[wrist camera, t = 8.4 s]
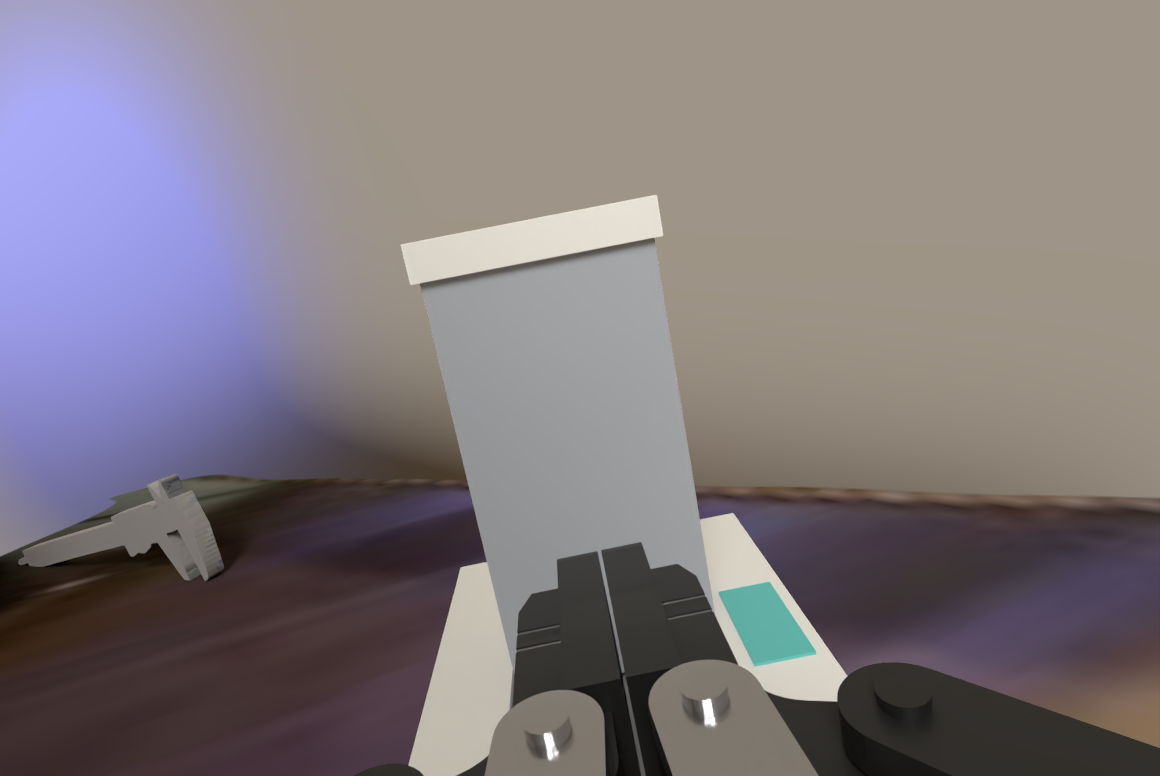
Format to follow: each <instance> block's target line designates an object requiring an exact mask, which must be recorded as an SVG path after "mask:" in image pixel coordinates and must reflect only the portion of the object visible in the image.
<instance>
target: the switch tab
mask: <svg viewBox="0 0 1160 776" xmlns="http://www.w3.org/2000/svg"><path fill="white" fill-rule="evenodd" d="M659 236H663V231H662V225H661V218H660V212H659V205H658V199H657V195H653V196H648V197H643V198H637V199H632V200H627V201H622V202H617V203H612V204H606V205H602V206H596V207H591V208H586V209H581V210H576V211H570V212H565V213H560V214H555V215H550V216H545V217H540V218H535V219H529V220H524V221H519V222H514V223H509V224H504V225H499V226H493V227H489V228H483V229H478V230H473V231H468V232H463V233H458V234H452V235H447V236H442V237H437V238H432V239H427V240H422V241H416V242H411V243H406V244H401V249H402V253H403V257H404V261H405V265H406V269H407V273H408V278H409V282H410V285H414V284H419V283H420V286H421V290H422V294H423V298H424V303H425V307H426V311H427V315H428V319H429V323H430V328H431V332H432V336H433V340H434V344H435V348H436V352H437V357H438V361H439V365H440V369H441V373H442V377H443V381H444V385H445V390H446V394H447V398H448V402H449V406H450V410H451V414H452V419H453V423H454V427H455V431H456V435H457V439H458V444H459V447H460V452H461V456H462V460H463V464H464V468H465V472H466V477H467V481H468V485H469V489H470V493H471V498H472V502H473V506H474V510H475V514H476V518H477V522H478V527H479V531H480V535H481V539H482V543H483V547H484V551H485V556H486V560H487V564H488V568H489V572H490V576H491V580H492V585H493V589H494V593H495V597H496V601H497V605H498V610H499V614H500V618H501V622H502V626H503V630H504V634H505V639H506V643H507V647H508V651H509V655H510V659H511V663H512V668H513V672H514V674H515V659H516V653H517V650H516V643H517V636H518V633H517V628H518V613H519V611H520V610H521V608H522V607H523V606H524V604H525V603H526V601H527V600H528V598H529V597H530V595H531V594H533V593H538V592H543V591H547V590H552V589H557V588H558V576H557V559H561V558H566V557H570V556H575V555H580V554H585V553H590V552H595V551H597V552H598V556H599V561H600V566H601V571H602V576H603V581H604V586H605V591H606V596H607V601H608V605H609V610H610V615H611V620H612V625H613V630H614V635H615V640H616V645H617V650H618V655H619V660H620V665H621V671H622V673H624V672H625V671H624V665H623V660H622V655H621V650H620V645H619V640H618V635H617V630H616V624H615V619H614V614H613V609H612V604H611V599H610V594H609V589H608V584H607V578H606V573H605V568H604V563H603V558H602V553H601V550H604V549H609V548H614V547H619V546H623V545H628V544H633V543H638V542H641V543H642V545H643V548H644V551H645V554H646V557H647V560H648V563H649V566H650V569H654V568H659V567H663V566H668V565H673V564H679V565H680V566H682V567H683V568H685V569H687V570H688V571H690V572H691V573H693V574H694V575H696V576H697V578H698V580H699V582H700V585H701V587H702V589H703V591H704V593H705V597H707V599H708V601H709V604H710V606H711V608H712V612H714V614H715V611H714V605H713V599H712V592H711V586H710V580H709V574H708V568H707V562H706V555H705V549H704V543H703V537H702V531H701V524H700V518H699V512H698V506H697V500H696V493H695V487H694V481H693V475H692V469H691V462H690V456H689V450H688V444H687V438H686V431H685V425H684V419H683V413H682V407H681V401H680V394H679V389H678V383H677V376H676V371H675V363H674V357H673V351H672V345H671V339H670V332H669V326H668V320H667V314H666V308H665V301H664V296H663V289H662V283H661V277H660V270H659V264H658V259H657V252H656V246H655V240H654V237H659Z"/></svg>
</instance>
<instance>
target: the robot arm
mask: <svg viewBox="0 0 1160 776" xmlns="http://www.w3.org/2000/svg"><path fill="white" fill-rule="evenodd" d="M601 553H602V558H603V563H604V568H605V573H606V578H607V584H608V589H609V594H610V599H611V604H612V609H613V614H614V619H615V624H616V630H617V635H618V640H619V645H620V650H621V655H622V660H623V665H624V671H625V676H626V681H627V686H628V691H629V695H630V700H631V705H632V710H633V715H634V720H635V725H636V730H637V735H638V740H639V745H640V750H641V755H642V760H643V765H644V770H645V775H646V776H1160V748H1158V747H1155V746H1152V745H1149V744H1146V743H1143V742H1140V741H1137V740H1134V739H1131V738H1129V737H1126V736H1123V735H1120V734H1117V733H1114V732H1111V731H1108V730H1105V729H1103V728H1100V727H1097V726H1094V725H1091V724H1088V723H1085V722H1082V721H1079V720H1076V719H1074V718H1071V717H1068V716H1065V715H1062V714H1059V713H1056V712H1053V711H1050V710H1047V709H1045V708H1042V707H1039V706H1036V705H1033V704H1030V703H1027V702H1024V701H1021V700H1018V699H1016V698H1013V697H1010V696H1007V695H1004V694H1001V693H998V692H995V691H992V690H990V689H987V688H984V687H981V686H978V685H975V684H972V683H969V682H966V681H963V680H961V679H958V678H955V677H952V676H949V675H946V674H943V673H940V672H937V671H934V670H932V669H928V668H925V667H922V666H918V665H913V664H907V663H879V664H873V665H869V666H865V667H863V668H860V669H858V670H856V671H854V672H853V673H851V674H850V675H848V676H847V677H846V678H845V679H844V680H843V682H842V683H841V685H840V687H839V689H838V693H837V702H836V701H807V700H795V699H790V698H784V697H781V696H778V695H774V694H772V693H769V692H767V691H765V690H764V689H763V687H762V685H761V684H760V682H759V681H758V680H757V678H756V677H755V676H754V675H753V674H752V673H751V672H749V671H748V670H746V669H745V668H743V667H741V666H739V665H738V663H737V661H736V658H735V656H734V654H733V652H732V650H731V648H730V646H729V644H728V642H727V639H726V637H725V635H724V633H723V631H722V629H721V627H720V625H719V623H718V620H717V618H716V616H715V614H714V612H712V608H711V606H710V604H709V601H708V599H707V597H705V593H704V591H703V589H702V587H701V585H700V582H699V580H698V578H697V576H696V575H694V574H693V573H691V572H690V571H688V570H687V569H685V568H683V567H682V566H680V565H679V564H673V565H668V566H663V567H659V568H654V569H650V566H649V563H648V560H647V557H646V554H645V551H644V548H643V545H642V543H641V542H638V543H633V544H628V545H623V546H619V547H614V548H609V549H604V550H601ZM557 576H558V588H557V589H552V590H547V591H543V592H538V593H533V594H531V595H530V597H529V598H528V600H527V601H526V603H525V604H524V606H523V607H522V608H521V610H520V611H519V613H518V628H517V633H518V636H517V643H516V650H517V653H516V659H515V674H514V689H513V704H512V709H510V710H509V711H508V712H507V713H506V714H505V715H504V716H503V717H502V719H501V720H500V721H499V723H498V725H497V726H496V728H495V730H494V733H493V737H492V741H491V746H490V751H489V755H488V756H487V757H486V758H485V759H483V760H482V761H481V762H479V763H478V764H476V765H475V766H473V767H472V768H470V769H468V770H466V771H464V772H463V773H461V774H458V775H456V776H641V772H640V766H639V761H638V756H637V750H636V745H635V740H634V734H633V729H632V724H631V719H630V713H629V708H628V703H627V697H626V692H625V687H624V681H623V676H622V671H621V665H620V660H619V655H618V650H617V645H616V640H615V635H614V630H613V625H612V620H611V615H610V610H609V605H608V601H607V596H606V591H605V586H604V581H603V576H602V571H601V566H600V561H599V556H598V552H597V551H595V552H590V553H585V554H580V555H575V556H570V557H566V558H561V559H557ZM354 776H424V775H423V774H422V773H421V772H420V771H419V770H417V769H415V768H414V767H411V766H408V765H403V764H387V765H381V766H377V767H374V768H370V769H367V770H365V771H363V772H360V773H358V774H356V775H354Z"/></svg>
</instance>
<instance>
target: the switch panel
mask: <svg viewBox="0 0 1160 776" xmlns="http://www.w3.org/2000/svg"><path fill="white" fill-rule="evenodd" d="M700 524H701V531H702V537H703V543H704V549H705V555H706V562H707V568H708V574H709V580H710V586H711V592H712V599H713V605H714V611H715V616H716V618H717V620H718V623H719V625H720V627H721V629H722V631H723V633H724V635H725V637H726V639H727V642H728V644H729V646H730V648H731V650H732V652H733V654H734V656H735V658H736V661H737V663H738V665H739V666H741V667H743V668H745V669H746V670H748V671H749V672H751V673H752V674H753V675H754V676H755V677H756V678H757V680H758V681H759V682H760V684H761V685H762V687H763V689H764V690H765V691H767V692H769V693H772V694H774V695H778V696H781V697H784V698H790V699H795V700H807V701H836V702H837V693H838V689H839V687H840V685H841V683H842V682H843V680H844V679H845V678H846V677H847V675H846V674H845V672H844V671H843V669H842V668H841V666H840V665H839V664H838V662H837V661H836V659H835V658H834V656H833V655H832V654H831V652H830V651H829V649H828V648H827V646H826V645H825V644H824V642H823V641H822V639H821V638H820V636H819V635H818V634H817V632H816V631H815V629H814V628H813V626H812V625H811V624H810V622H809V621H808V619H807V618H806V616H805V615H804V614H803V612H802V611H801V609H800V608H799V606H798V605H797V604H796V602H795V601H794V599H793V598H792V596H791V595H790V594H789V592H788V591H787V589H786V588H785V586H784V585H783V584H782V582H781V581H780V579H779V578H778V576H777V575H776V574H775V572H774V571H773V569H772V568H771V566H770V565H769V564H768V562H767V561H766V559H765V558H764V556H763V555H762V554H761V552H760V551H759V549H758V548H757V547H756V545H755V544H754V542H753V541H752V539H751V538H750V537H749V535H748V534H747V532H746V531H745V529H744V528H743V527H742V525H741V524H740V522H739V521H738V519H737V518H736V517H735V515H734V514H733V513H731V514H726V515H721V516H716V517H711V518H706V519H701V520H700ZM622 676H623V681H624V687H625V692H626V697H627V703H628V708H629V713H630V719H631V724H632V729H633V734H634V740H635V745H636V750H637V756H638V761H639V766H640V772H641V776H646V775H645V770H644V765H643V760H642V755H641V750H640V745H639V740H638V735H637V730H636V725H635V720H634V715H633V710H632V705H631V700H630V695H629V691H628V686H627V681H626V676H625V672H624V673H622ZM513 689H514V672H513V668H512V663H511V659H510V655H509V651H508V647H507V643H506V639H505V634H504V630H503V626H502V622H501V618H500V614H499V610H498V605H497V601H496V597H495V593H494V589H493V585H492V580H491V576H490V572H489V568H488V564H487V562H485V563H480V564H475V565H470V566H465V567H461V569H460V572H459V576H458V580H457V584H456V587H455V591H454V595H453V599H452V602H451V606H450V610H449V614H448V618H447V621H446V625H445V629H444V633H443V636H442V640H441V644H440V648H439V652H438V655H437V659H436V663H435V667H434V670H433V674H432V678H431V682H430V686H429V689H428V693H427V697H426V701H425V704H424V708H423V712H422V716H421V720H420V723H419V727H418V731H417V735H416V738H415V742H414V746H413V750H412V754H411V757H410V761H409V765H408V766H411V767H414V768H415V769H417V770H419V771H420V772H421V773H422V774H423V775H424V776H456V775H458V774H461V773H463V772H464V771H466V770H468V769H470V768H472V767H473V766H475V765H476V764H478V763H479V762H481V761H482V760H483V759H485V758H486V757H487V756H488V755H489V751H490V746H491V741H492V737H493V733H494V730H495V728H496V726H497V725H498V723H499V721H500V720H501V719H502V717H503V716H504V715H505V714H506V713H507V712H508V711H509V710H510V709H512V704H513Z"/></svg>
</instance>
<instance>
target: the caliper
mask: <svg viewBox="0 0 1160 776" xmlns="http://www.w3.org/2000/svg"><path fill="white" fill-rule="evenodd" d="M147 487H148V489H149V491H150V493H151V495H152V497H153V499H154V501H151V502H148V503H145V504H142V505H139V506H136V507H134V508H131V509H128V510H125V511H123V512H121V513H118V514H116V515H114V516H111V520H112V522H109V523H105V524H102V525H99V526H95V527H92V528H89V529H85V530H82V531H79V532H75V533H72V534H69V535H65V536H62V537H59V538H56V539H52V540H49V541H46V542H43V543H40V544H37V545H35V546H32V547H30V548H28V549H25V550H23V551H22V552H23V554H24V556H25V557H23V558H21V559H19V562H18V564H19V565H24V564H26V563H28V564H29V566H36V567H44V566H47V565H51V564H55V563H58V562H62V561H65V560H69V559H73V558H76V557H80V556H84V555H88V554H92V553H95V552H99V551H103V550H107V549H111V548H115V547H119V546H123V545H124V546H125V547H126V549H127V551H128V553H129V555H130V556H131V557H133V556H135V555H137V554H139V553H147V552H149V551H151V550H153V549H155V548H157V547H159V546H160V547H161V548H162V550H163V551H164V552H165V554H166V555H167V557H168V558H169V559H170V561H171V562H172V564H173V565H174V566H175V568H176V569H177V570H178V572H179V573H180V575H181V576H182V577H183V579H184V580H192V579H194V578H195V577H197V576H199V575H202V577H203V579H204V581H206V580H208V579H210V578H211V577H213V576H215V575H217V574H218V573H220V572H222V571H223V569H224V565H223V562H222V558H221V555H220V552H219V549H218V547H217V544H216V541H215V538H214V535H213V532H212V529H211V526H210V523H209V521H208V519H207V517H206V516H205V514H204V512H203V510H202V508H201V506H200V504H199V503H198V501H197V499H196V497H195V495H194V493H193V491H187V492H186V491H185V489H184V487H183V485H182V483H181V481H180V479H179V477H178V476H177V474H173V475H171V476H169V477H167V478H163V479H160V480H158V481H155V482H153V483H150V484H148V485H147Z"/></svg>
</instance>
